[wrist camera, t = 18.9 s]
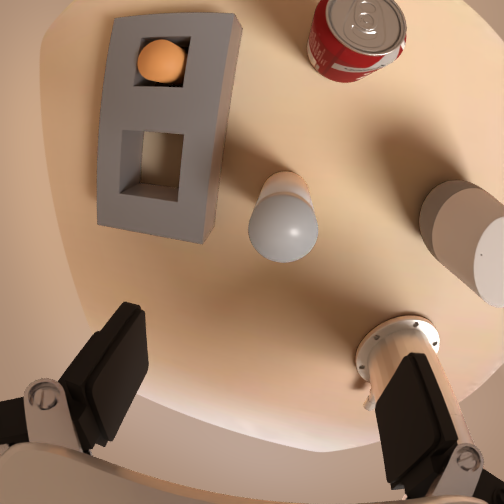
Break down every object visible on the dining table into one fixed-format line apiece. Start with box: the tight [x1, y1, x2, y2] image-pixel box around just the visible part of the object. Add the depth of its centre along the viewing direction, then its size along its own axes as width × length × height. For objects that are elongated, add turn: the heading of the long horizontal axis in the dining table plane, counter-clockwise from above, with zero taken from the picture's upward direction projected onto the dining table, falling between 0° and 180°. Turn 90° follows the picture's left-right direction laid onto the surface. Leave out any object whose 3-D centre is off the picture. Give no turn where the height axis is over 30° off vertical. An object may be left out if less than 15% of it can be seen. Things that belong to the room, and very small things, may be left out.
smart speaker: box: [419, 180, 504, 308], centre depth 24 cm, size 10×9×14 cm
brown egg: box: [138, 40, 188, 85], centre depth 25 cm, size 4×4×5 cm
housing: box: [97, 13, 243, 244], centre depth 28 cm, size 22×12×5 cm, turn 171°
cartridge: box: [248, 171, 318, 263], centre depth 27 cm, size 5×5×11 cm
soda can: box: [307, 0, 407, 83], centre depth 20 cm, size 7×7×12 cm
